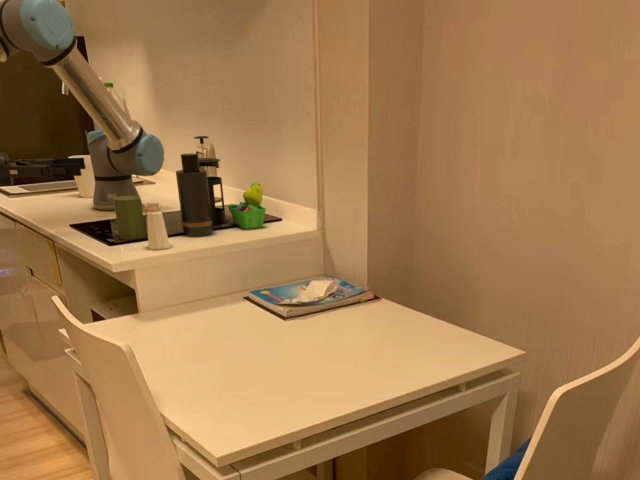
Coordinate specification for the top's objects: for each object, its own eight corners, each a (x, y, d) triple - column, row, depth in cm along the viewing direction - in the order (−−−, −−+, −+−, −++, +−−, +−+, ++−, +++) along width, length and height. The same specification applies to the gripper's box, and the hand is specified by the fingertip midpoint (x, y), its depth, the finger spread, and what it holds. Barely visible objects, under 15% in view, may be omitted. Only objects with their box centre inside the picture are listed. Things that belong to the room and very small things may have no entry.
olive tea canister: (118, 235, 189) (111, 197, 184) (143, 233, 191) (137, 195, 186) (121, 240, 183) (115, 200, 178) (148, 238, 186) (142, 198, 181)
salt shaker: (156, 250, 173) (149, 204, 167) (144, 247, 176) (137, 202, 170) (174, 246, 176) (168, 201, 171) (162, 243, 179) (155, 199, 174)
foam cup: (106, 196, 247) (99, 156, 240) (80, 199, 242) (72, 158, 236) (98, 193, 254) (91, 154, 247) (73, 195, 249) (65, 156, 243)
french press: (231, 223, 201) (222, 136, 190) (199, 226, 198) (188, 138, 186) (220, 217, 211) (211, 133, 199) (189, 219, 207) (179, 135, 196)
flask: (180, 232, 192) (170, 153, 182) (209, 229, 195) (201, 152, 185) (187, 237, 185) (177, 156, 175) (216, 235, 188) (208, 155, 178)
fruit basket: (228, 224, 201) (224, 182, 196) (256, 220, 205) (253, 180, 199) (243, 230, 193) (239, 187, 187) (272, 227, 196) (269, 184, 191)
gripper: (5, 179, 184) (88, 175, 189) (-13, 193, 163) (81, 189, 168) (-2, 148, 180) (83, 145, 185) (-22, 158, 159) (75, 155, 164)
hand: (82, 166), depth 176 cm, fingers open, 13 cm apart
